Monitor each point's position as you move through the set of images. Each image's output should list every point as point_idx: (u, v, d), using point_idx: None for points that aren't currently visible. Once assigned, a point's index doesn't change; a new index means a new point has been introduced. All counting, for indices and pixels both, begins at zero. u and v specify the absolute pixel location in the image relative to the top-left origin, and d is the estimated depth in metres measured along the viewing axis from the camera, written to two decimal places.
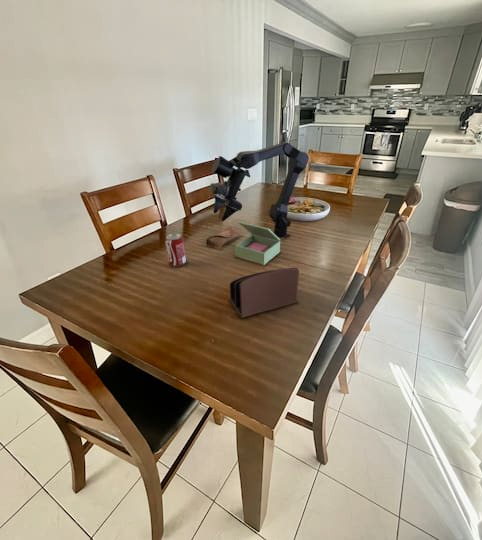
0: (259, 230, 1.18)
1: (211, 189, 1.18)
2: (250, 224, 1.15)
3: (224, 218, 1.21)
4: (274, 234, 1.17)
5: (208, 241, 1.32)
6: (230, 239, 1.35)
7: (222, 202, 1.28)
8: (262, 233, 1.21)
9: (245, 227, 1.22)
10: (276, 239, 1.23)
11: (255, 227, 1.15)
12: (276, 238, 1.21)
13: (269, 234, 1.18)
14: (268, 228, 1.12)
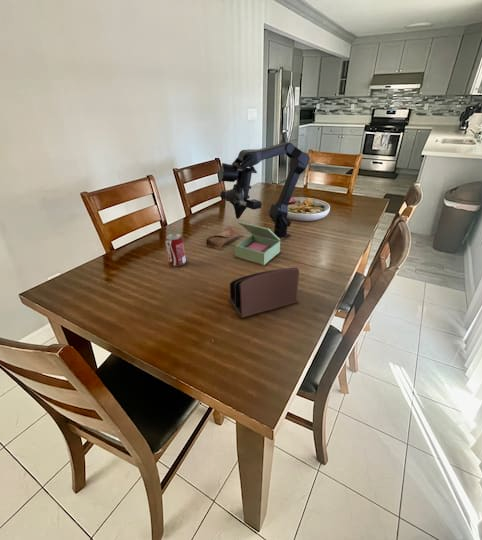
0: (259, 230, 1.18)
1: (228, 199, 1.19)
2: (250, 224, 1.15)
3: (239, 216, 1.28)
4: (274, 234, 1.17)
5: (208, 241, 1.32)
6: (230, 239, 1.35)
7: None
8: (262, 233, 1.21)
9: (245, 227, 1.22)
10: (276, 239, 1.23)
11: (255, 227, 1.15)
12: (276, 238, 1.21)
13: (269, 234, 1.18)
14: (268, 228, 1.12)
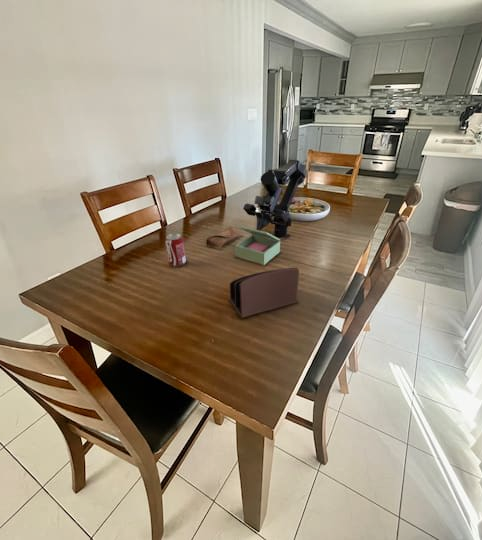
0: (258, 233, 1.18)
1: (258, 201, 1.14)
2: (249, 228, 1.15)
3: (260, 229, 1.19)
4: (273, 236, 1.17)
5: (208, 241, 1.32)
6: (230, 239, 1.35)
7: None
8: (261, 235, 1.21)
9: None
10: (276, 239, 1.23)
11: (254, 231, 1.15)
12: (276, 239, 1.21)
13: (268, 236, 1.18)
14: None
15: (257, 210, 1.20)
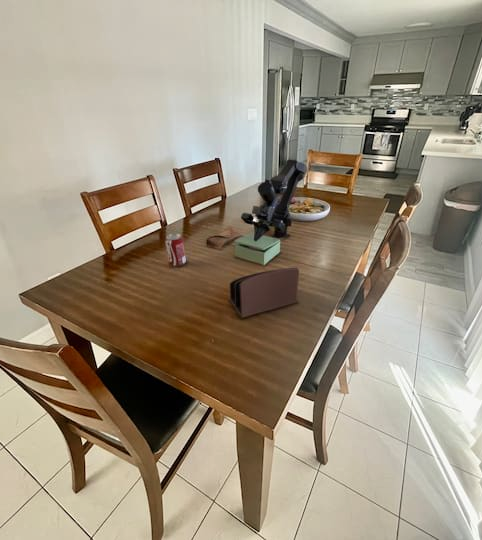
0: None
1: (255, 211, 1.14)
2: (246, 244, 1.17)
3: (257, 238, 1.20)
4: (272, 244, 1.18)
5: (208, 241, 1.32)
6: (230, 239, 1.35)
7: None
8: None
9: None
10: None
11: None
12: (275, 242, 1.22)
13: None
14: (263, 248, 1.13)
15: (254, 219, 1.20)
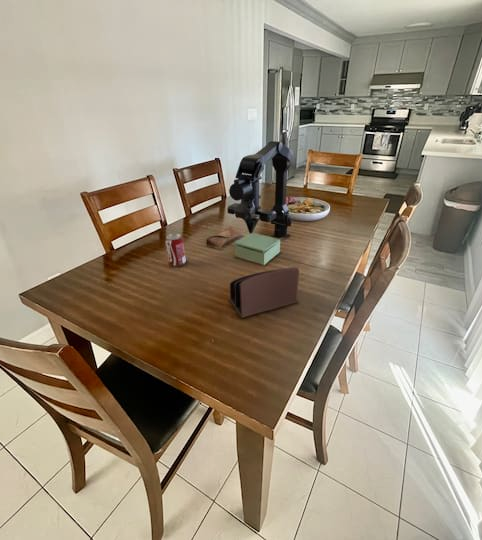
0: None
1: (238, 215, 1.05)
2: (246, 246, 1.17)
3: (252, 230, 1.14)
4: (272, 245, 1.18)
5: (208, 241, 1.32)
6: (230, 239, 1.35)
7: None
8: None
9: None
10: None
11: None
12: None
13: None
14: (263, 250, 1.13)
15: None
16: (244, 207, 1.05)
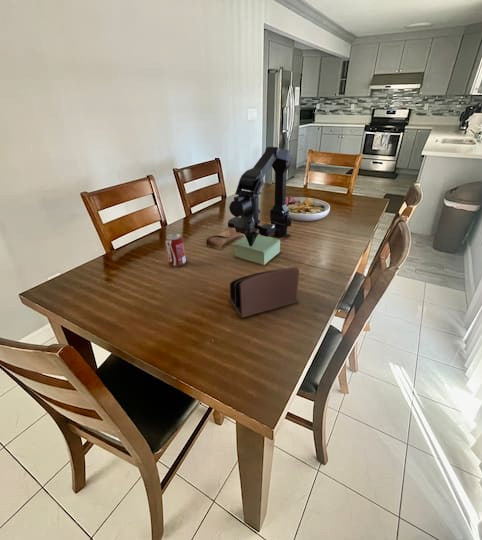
0: None
1: (238, 230, 1.08)
2: (246, 247, 1.17)
3: (252, 243, 1.17)
4: (271, 246, 1.18)
5: (208, 241, 1.32)
6: (230, 239, 1.35)
7: None
8: None
9: None
10: None
11: None
12: (275, 243, 1.22)
13: None
14: (263, 252, 1.14)
15: None
16: (244, 222, 1.07)
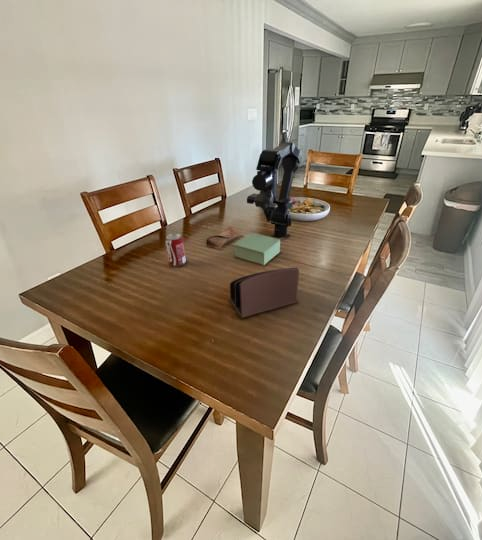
0: None
1: (258, 204, 1.14)
2: (246, 248, 1.17)
3: (270, 218, 1.23)
4: (271, 246, 1.19)
5: (208, 241, 1.32)
6: (230, 239, 1.35)
7: None
8: None
9: None
10: None
11: None
12: (275, 243, 1.22)
13: None
14: (263, 252, 1.14)
15: None
16: (264, 196, 1.13)
